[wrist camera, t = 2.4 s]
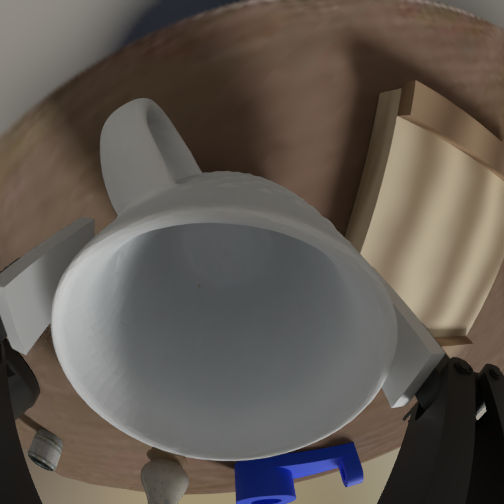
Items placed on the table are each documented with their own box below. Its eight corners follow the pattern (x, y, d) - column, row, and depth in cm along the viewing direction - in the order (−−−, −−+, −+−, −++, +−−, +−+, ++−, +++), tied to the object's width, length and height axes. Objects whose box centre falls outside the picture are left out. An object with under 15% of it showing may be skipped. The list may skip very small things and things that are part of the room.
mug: (100, 157, 16) (-51, 205, 4) (244, 80, 15) (268, -37, 3) (197, 323, 22) (177, 472, 10) (324, 271, 21) (404, 409, 9)
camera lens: (69, 448, 34) (59, 476, 27) (46, 439, 33) (36, 466, 26) (55, 433, 32) (44, 464, 24) (32, 423, 31) (20, 452, 24)
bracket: (239, 474, 37) (241, 509, 30) (229, 457, 33) (230, 498, 26) (347, 455, 37) (357, 488, 30) (355, 435, 33) (368, 473, 26)
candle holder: (145, 397, 26) (116, 561, 7) (217, 420, 28) (218, 575, 9) (132, 426, 29) (109, 554, 10) (192, 445, 31) (188, 569, 12)
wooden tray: (309, 334, 23) (321, 371, 19) (380, 88, 15) (415, 79, 11) (442, 337, 25) (461, 360, 21) (506, 168, 18) (536, 178, 14)
